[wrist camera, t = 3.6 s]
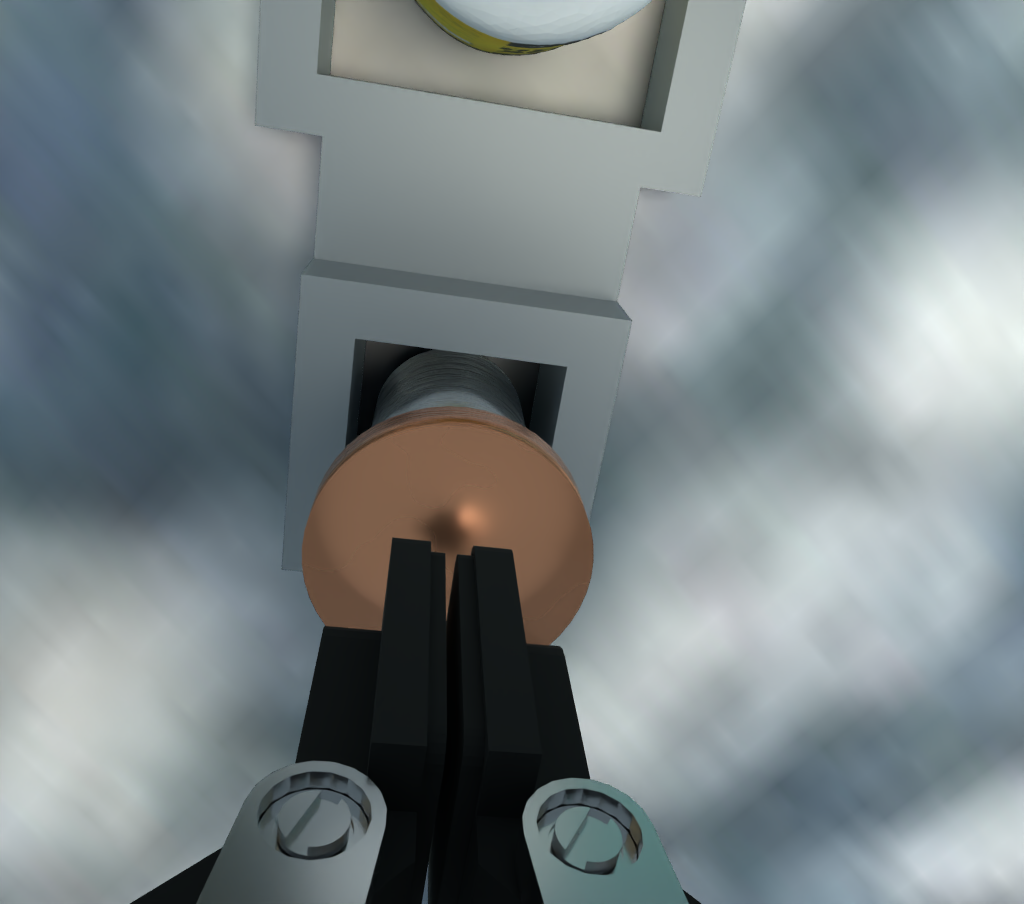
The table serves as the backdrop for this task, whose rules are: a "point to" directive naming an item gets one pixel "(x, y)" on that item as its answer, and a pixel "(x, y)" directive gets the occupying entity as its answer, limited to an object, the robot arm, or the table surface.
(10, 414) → the table surface
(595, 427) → the housing
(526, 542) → the plunger
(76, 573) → the table surface
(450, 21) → the supplement bottle
